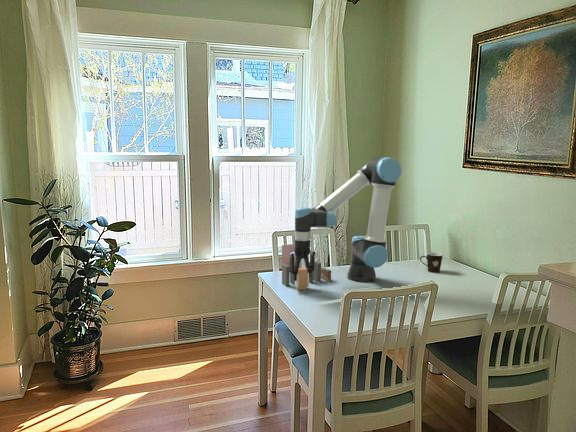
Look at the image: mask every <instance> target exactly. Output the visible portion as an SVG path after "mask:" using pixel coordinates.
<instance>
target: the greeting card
mask: <svg viewBox="0 0 576 432" xmlns="http://www.w3.org/2000/svg"><path fill="white" fill-rule="evenodd" d="M294 250H295V243H294V244H292V243H291V244H283V245H281V266H282V265H283V264H286V265H288V266H290V256H289V253H292V252H294ZM295 262H296V255H295V257H294V264H295ZM299 269H301V264H300V265H299Z"/></svg>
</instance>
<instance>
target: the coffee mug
mask: <svg viewBox="0 0 576 432" xmlns="http://www.w3.org/2000/svg"><path fill="white" fill-rule="evenodd" d="M443 256H444V254H443V253H439V252H427V253H426V255H422V256H420V257H419V261H420V263H422V264H423V265H424V266H426V267H427V271H428V273H429V272H430V273H434V274H435V273H437V274H438V273H440V272H441V266H442V261H443ZM422 258H426V262H427V263H425V262H424V261H423V260H422Z"/></svg>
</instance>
